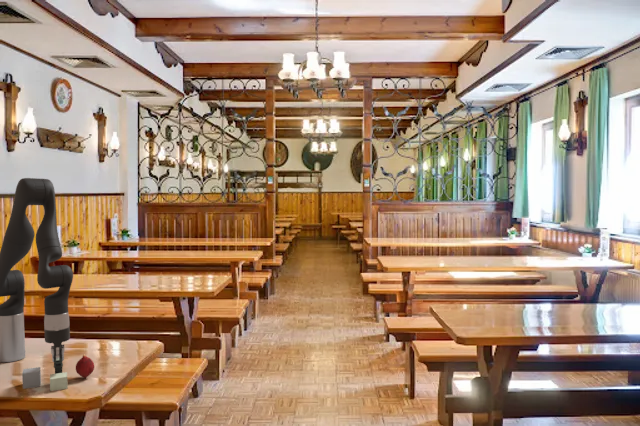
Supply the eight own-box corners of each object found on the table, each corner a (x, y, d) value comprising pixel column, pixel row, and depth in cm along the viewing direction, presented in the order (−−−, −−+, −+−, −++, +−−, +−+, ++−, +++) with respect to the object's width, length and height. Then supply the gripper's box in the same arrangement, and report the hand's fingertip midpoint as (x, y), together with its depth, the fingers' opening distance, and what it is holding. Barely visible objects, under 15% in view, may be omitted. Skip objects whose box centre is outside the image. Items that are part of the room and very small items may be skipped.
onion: (98, 376, 191) (97, 352, 190) (86, 381, 186) (85, 357, 185) (84, 374, 193) (83, 351, 192) (72, 379, 187) (71, 356, 187)
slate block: (22, 389, 180) (22, 373, 179) (23, 384, 184) (23, 369, 184) (40, 386, 182) (39, 371, 181) (40, 381, 186) (40, 366, 186)
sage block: (50, 391, 177) (49, 379, 177) (50, 386, 182) (50, 374, 182) (67, 389, 179) (67, 376, 179) (67, 384, 184) (67, 372, 184)
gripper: (45, 323, 188) (46, 373, 189) (43, 332, 176) (45, 386, 177) (69, 320, 191) (71, 370, 192) (69, 329, 179) (71, 382, 180)
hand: (58, 378), depth 185 cm, fingers closed
